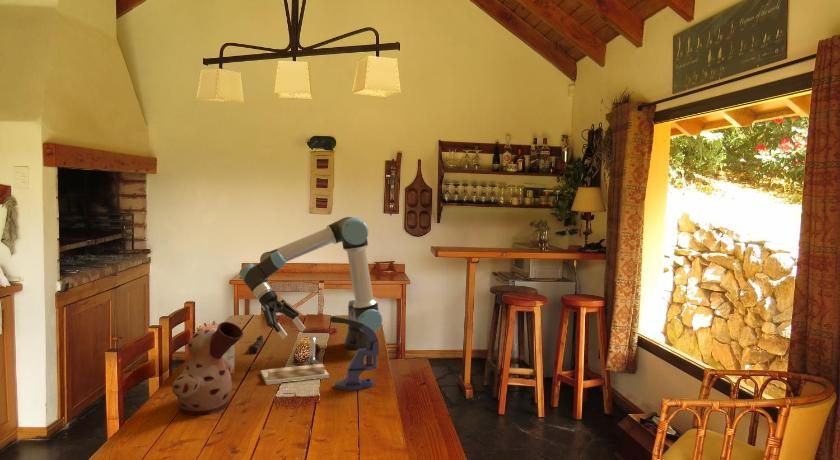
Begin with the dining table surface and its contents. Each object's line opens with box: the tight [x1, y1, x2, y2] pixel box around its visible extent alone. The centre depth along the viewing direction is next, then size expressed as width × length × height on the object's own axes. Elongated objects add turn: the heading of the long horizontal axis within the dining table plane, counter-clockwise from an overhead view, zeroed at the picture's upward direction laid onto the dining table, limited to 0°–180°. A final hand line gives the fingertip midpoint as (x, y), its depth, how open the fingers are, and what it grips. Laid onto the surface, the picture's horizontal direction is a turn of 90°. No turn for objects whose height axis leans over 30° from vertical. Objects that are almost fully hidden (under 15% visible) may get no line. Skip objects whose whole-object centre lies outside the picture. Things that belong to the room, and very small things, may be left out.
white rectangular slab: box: [260, 369, 330, 386], centre depth 234 cm, size 25×14×2 cm, turn 114°
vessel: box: [171, 321, 244, 415], centre depth 199 cm, size 29×22×30 cm
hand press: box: [330, 315, 380, 391], centre depth 223 cm, size 19×9×28 cm, turn 103°
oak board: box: [267, 363, 326, 380], centre depth 231 cm, size 22×4×3 cm, turn 114°
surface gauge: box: [303, 336, 321, 366], centre depth 239 cm, size 6×8×13 cm
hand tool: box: [248, 335, 264, 355], centre depth 273 cm, size 19×4×5 cm, turn 1°
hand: (294, 333), depth 242 cm, fingers open, 13 cm apart
